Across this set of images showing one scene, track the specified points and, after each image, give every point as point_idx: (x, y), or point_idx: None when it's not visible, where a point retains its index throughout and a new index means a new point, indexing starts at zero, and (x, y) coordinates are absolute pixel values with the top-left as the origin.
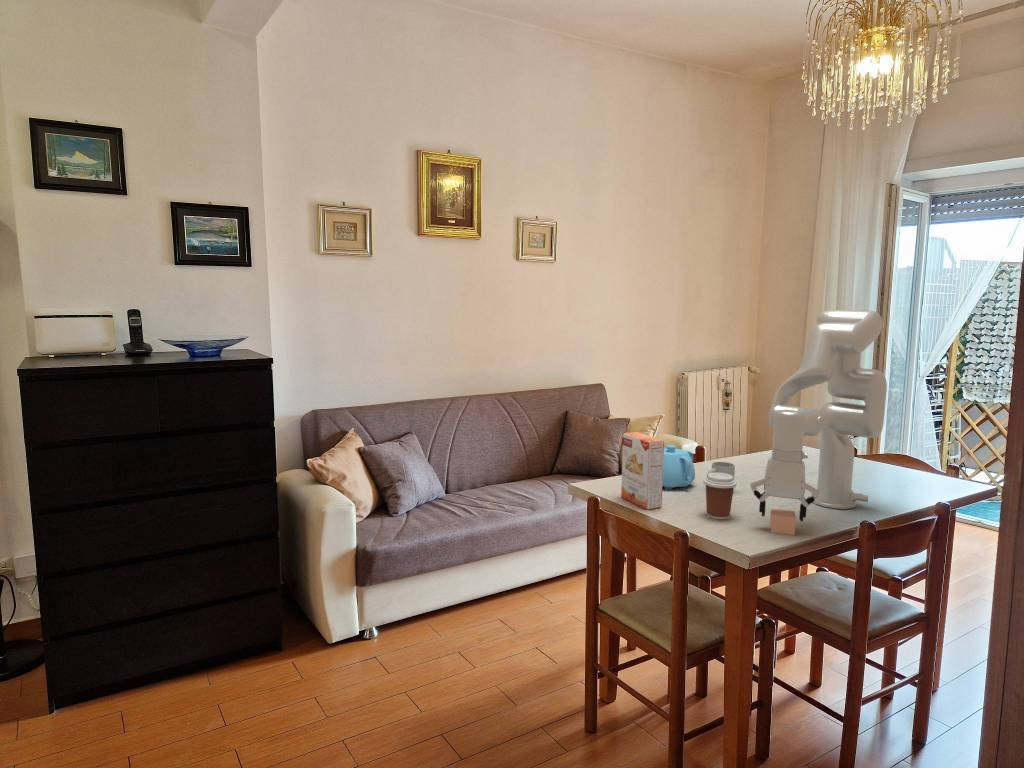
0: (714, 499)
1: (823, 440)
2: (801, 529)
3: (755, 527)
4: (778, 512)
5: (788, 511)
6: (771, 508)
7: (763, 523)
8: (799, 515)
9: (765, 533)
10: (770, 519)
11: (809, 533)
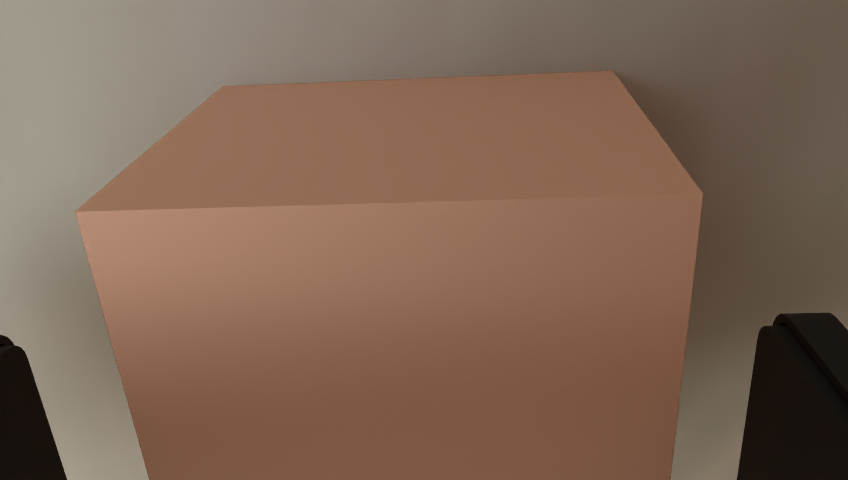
0: None
1: None
2: (748, 90)
3: (46, 285)
4: (295, 455)
5: (528, 295)
6: (83, 215)
7: (102, 31)
8: (780, 349)
9: None
10: (186, 124)
11: (842, 243)
